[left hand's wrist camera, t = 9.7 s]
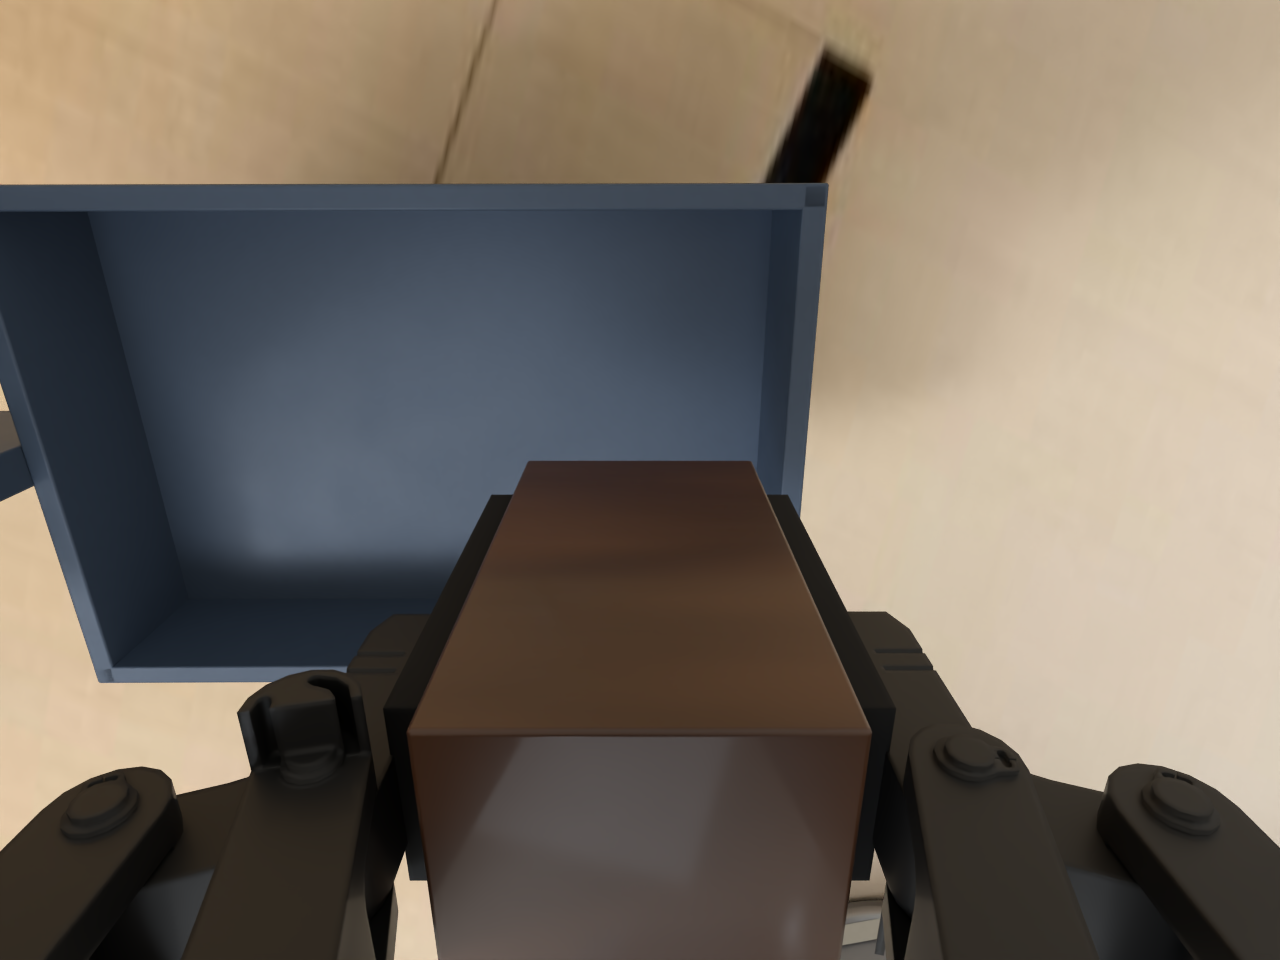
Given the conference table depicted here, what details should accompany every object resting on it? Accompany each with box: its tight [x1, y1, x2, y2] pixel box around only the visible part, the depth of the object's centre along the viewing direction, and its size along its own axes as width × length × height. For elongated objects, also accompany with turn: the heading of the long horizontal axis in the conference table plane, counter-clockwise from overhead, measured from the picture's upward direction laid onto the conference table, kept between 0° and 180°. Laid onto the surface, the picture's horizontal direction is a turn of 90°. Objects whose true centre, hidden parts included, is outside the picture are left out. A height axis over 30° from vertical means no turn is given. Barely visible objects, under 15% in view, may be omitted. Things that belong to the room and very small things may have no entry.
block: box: [406, 461, 872, 960], centre depth 11 cm, size 4×4×8 cm
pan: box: [0, 183, 829, 683], centre depth 21 cm, size 29×14×7 cm, turn 90°
